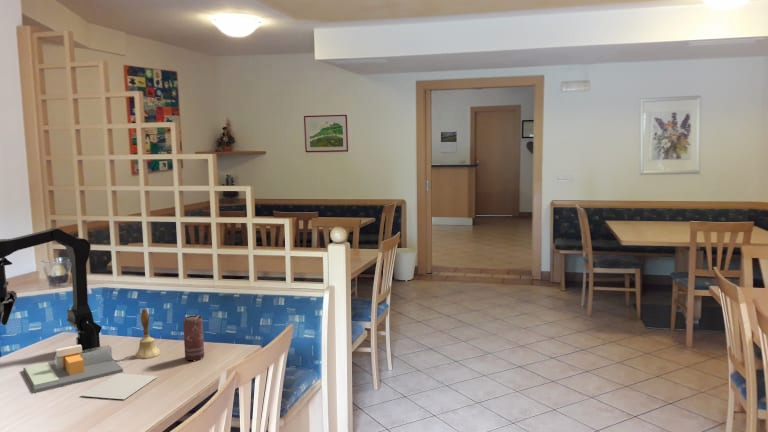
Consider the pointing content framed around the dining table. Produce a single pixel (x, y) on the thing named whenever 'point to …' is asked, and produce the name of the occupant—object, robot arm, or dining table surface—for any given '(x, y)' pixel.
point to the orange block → (73, 364)
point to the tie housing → (89, 357)
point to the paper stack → (119, 386)
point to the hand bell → (146, 340)
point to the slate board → (78, 375)
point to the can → (193, 337)
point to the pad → (41, 374)
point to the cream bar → (68, 350)
